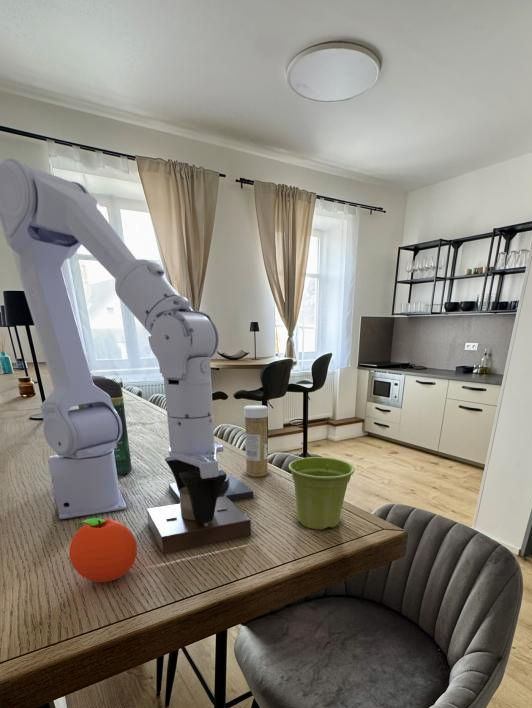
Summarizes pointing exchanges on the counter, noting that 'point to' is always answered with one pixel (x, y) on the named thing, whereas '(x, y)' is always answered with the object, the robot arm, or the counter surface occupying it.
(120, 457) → the coffee jar
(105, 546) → the clementine
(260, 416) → the spice jar
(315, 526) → the plant pot
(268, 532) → the counter surface
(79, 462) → the robot arm
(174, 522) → the dimmer plate
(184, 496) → the dial
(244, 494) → the switch block
